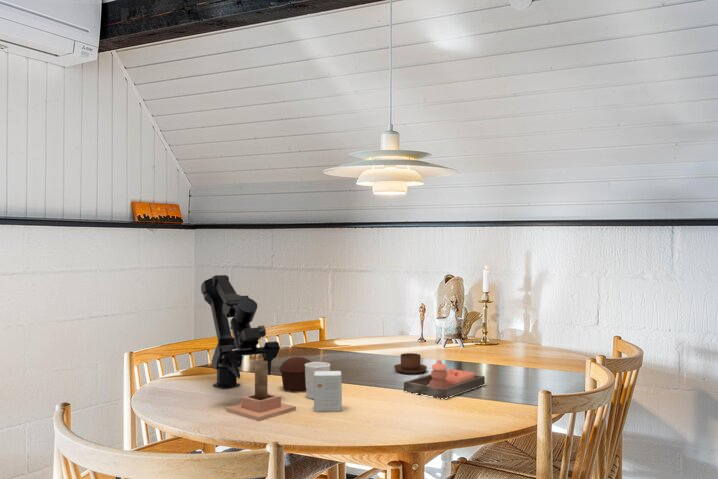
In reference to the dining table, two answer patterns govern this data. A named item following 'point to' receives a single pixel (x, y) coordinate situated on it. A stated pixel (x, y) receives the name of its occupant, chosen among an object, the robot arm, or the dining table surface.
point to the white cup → (309, 375)
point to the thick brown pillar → (261, 379)
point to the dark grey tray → (421, 388)
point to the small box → (327, 391)
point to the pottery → (448, 376)
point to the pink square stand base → (260, 407)
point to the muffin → (294, 374)
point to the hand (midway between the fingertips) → (254, 376)
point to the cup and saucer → (410, 364)
